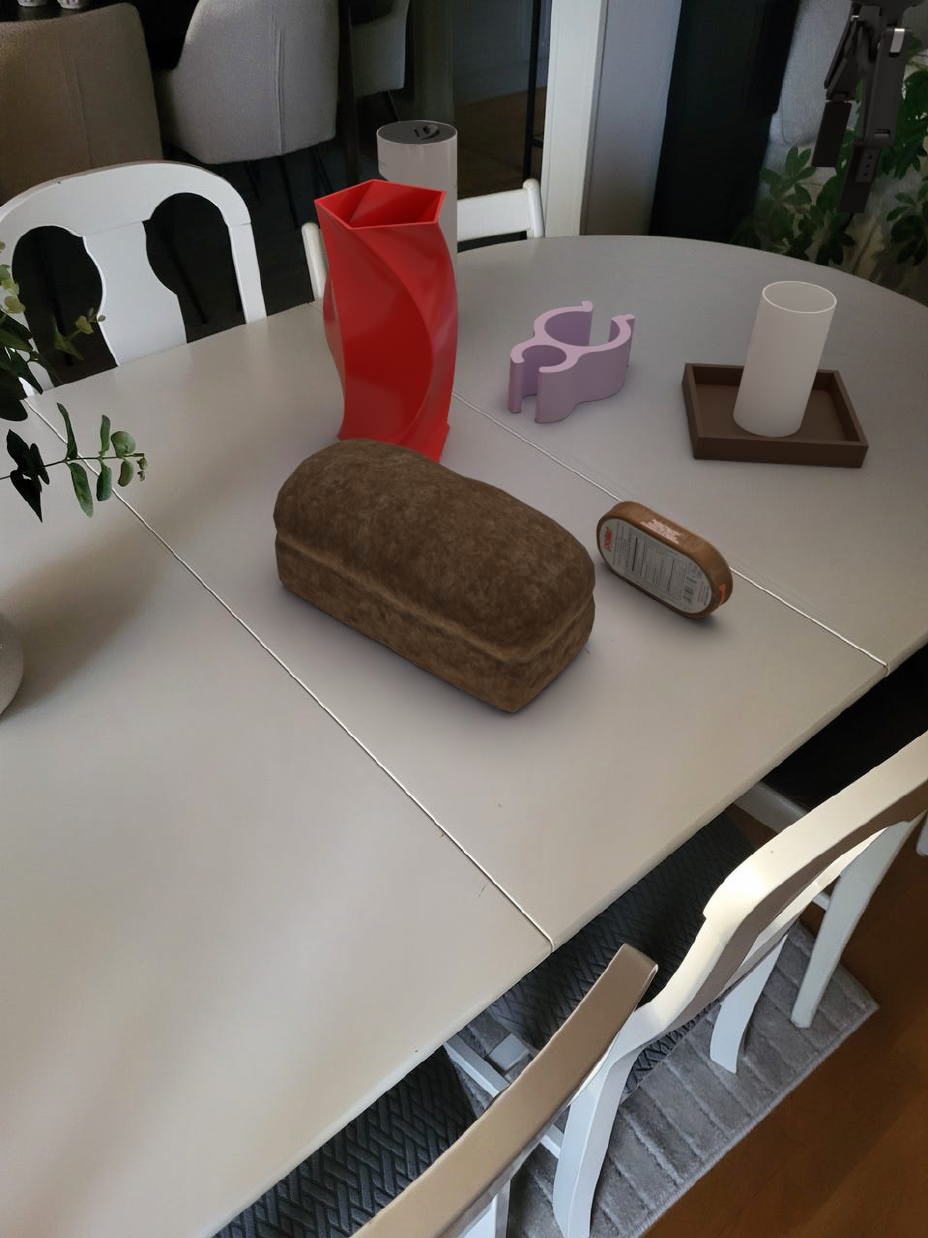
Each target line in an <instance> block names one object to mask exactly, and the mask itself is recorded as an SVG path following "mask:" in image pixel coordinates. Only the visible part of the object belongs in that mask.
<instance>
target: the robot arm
mask: <svg viewBox="0 0 928 1238" xmlns="http://www.w3.org/2000/svg"><path fill="white" fill-rule="evenodd" d="M850 1H851V3H850V9H849V13H848V17H847V20H846V23H845V26H844V28H843V31H842V34H841V37H840V39H839V42H838V44H837V47H836V49H835V53H834V54H833V58H832V60H831V63H830V66H829V69H828V70H827V73H826V76H825V79H824V80H823V89H824V90H826V92H825V100H826V101H825V104H824V107H823V112H822V116H821V121H820V124H819V129H818V132H817V137H816V141H815V144H814V149H813V154H812V156H811V157H812V158H811V161H810V166H811V168H832V169H835V168H837V166H838V162H839V158H840V154H841V150H842V146H843V143H844V139H845V136H846V135H845V134H846V130H847V127H848V123H849V119H850V116H851V111H852V108H853V103H852V102H857V100H858V99H857V98H858V89H857V88H858V86H859V84H860V83H861V80H862V83H861V96H860V107H859V108H860V110H859V112H860V113H859V123H858V136H854V137H853V139H852V140H851V141H850V143H849V145H850V147H851V151H850V155H849V159H848V162H847V166H846V170H845V173H844V174H845V175H844V177H843V181H842V185H841V188H840V192H839V196H838V200H837V203H836V207H835V211H836V213H840V214H865V211H866V207H867V203H868V200H869V197H870V194H871V190H872V186H873V183H874V179H875V177H876V176H875V175H876V173H877V169H878V166H879V162H880V158H881V155H882V151H883V149H884V148H886V147H893V145H894V143H895V140H896V132H897V126H898V125H897V124H898V118H899V111H900V106H901V98H902V92H903V85H904V78H905V73H906V65H907V60H908V54H909V50H910V47H911V43H912V39H913V37H914V28H913V26H903V23H904V22H903V21H904V18H905V17H904V14H905V12H906V11H907V10H908V9H909V8H912V7H913V8H915V7H916V8H917V7H920V6H922V5H924V4H925V3H926V2H927V1H928V0H850ZM846 101H847V102H846ZM848 101H849V102H848Z"/></svg>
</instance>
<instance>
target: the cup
mask: <svg viewBox="0 0 928 1238" xmlns="http://www.w3.org/2000/svg"><path fill="white" fill-rule="evenodd" d="M837 301H838V300H837V298H836V296H835V294H833V293H832V292H831V291H830V290H828V289H826V288H825V287H823V286H820V285H817V284H814V283H809V282H805V281H799V280H798V281H797V280H781V281H776V282H773V283H770V284H768V285H766V286H765V287H764V288H763V289H762V292H761V295H760V300H759V304H758V307H757V311H756V312H757V313H756V317H755V319H754V325H753V330H752V334H751V338H750V341H749V346H748V350H747V355H746V358H745V363H744V366H745V367H744V371H743V375H742V379H741V383H740V388H739V392H738V396H737V400H736V404H735V409H734V413H733V417H734V420H735V422H736V423H737V424H738V425H739V426H740V427H741V428H743V429H745V430H746V431H748V432H751V433H753V434H756V435H760V436H766V437H784V436H788V435H791V434H793V433H795V432H796V431H798V429H799V428H800V425H801V422H802V419H803V415H804V412H805V409H806V405H807V402H808V398H809V395H810V392H811V388H812V385H813V382H814V378H815V375H816V372H817V369H818V368H819V364H820V362H821V358H822V355H823V351H824V347H825V345H826V341H827V339H828V334H829V331H830V328H831V324H832V321H833V317H834V314H835V311H836V307H837V303H838V302H837Z"/></svg>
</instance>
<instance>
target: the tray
mask: <svg viewBox="0 0 928 1238" xmlns="http://www.w3.org/2000/svg"><path fill="white" fill-rule="evenodd" d="M744 367H745V365H738V364H722V363H721V364H718V363H701V362H699V363H698V362H697V363H696V362H685V365H684V369H683V373H682V380H681V389H682V394H683V396H682V397H683V401H684V407H685V408H684V409H685V413H686V419H687V425H688V431H689V437H690V445H691V450H692V457H693V459H694V460H708V461H709V460H710V461H726V462H728V461H729V462H743V463H744V462H746V463H747V462H748V463H762V464H763V463H764V464H782V465H784V464H785V465H800V466H817V467H818V466H819V467H834V468H835V467H837V468H838V467H839V468H855V469H862V467H863V464H864V460H865V458H866V456H867V453H868V450H869V447H870V445H869V443H868V440H867V437H866V435H865V433H864V429H863V427H862V425H861V423H860V420H859V418H858V415H857V413H856V410H855V408H854V406H853V403H852V401H851V398H850V395H849V393H848V390H847V388H846V385H845V383H844V381H843V378H842V376H841V374H840V371H839V370H837V369H820V368H819V369H818V368H817V372H816V375H815V378H814V382H813V385H812V388H811V392H810V395H809V398H808V402H807V405H806V409H805V412H804V415H803V419H802V422H801V425H800V428H799V429H798V431H796V432H795V433H793V434H791V435H788V436H784V437H766V436H760V435H756V434H753V433H751V432H748V431H746V430H745V429H743V428H741V427H740V426H739V425H738V424H737V423H736V422H735V420H734V417H733V413H734V409H735V404H736V400H737V396H738V392H739V388H740V383H741V379H742V375H743V371H744Z"/></svg>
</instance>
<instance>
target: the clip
mask: <svg viewBox="0 0 928 1238" xmlns="http://www.w3.org/2000/svg"><path fill="white" fill-rule="evenodd" d="M593 312H594V306H593V302H592V301H590V300H582V301H581V303H580V305H578V306H564V307H558V308H554V309H551V310H547V311H545V312H544V313H542V314H540V315H539V316H538V317H537V318H536V319H535V320H534V322H533V330H532V337H531V339H528V340H526V341H523V342H520V343H518V344H517V345H515V346H513V348H511V351H510V355H509V356H510V357H509V376H508V377H509V378H508V396H507V397H508V399H507V407H508V409H509V411H510V412H511V413H513V414H516V413H520V412H521V411H522V405H523V403H522V401H523V399H524V398H525V397H528V396H531V395H536V406H535V419H534V420H535V422H536V423H541V424H542V423H544V424H545V423H554V422H558V421H561V420H563V419H565V418H567V417H568V416H570V414H571V413H572V412H573V409H574V408H575V407H576V406H577V405H579V404H581V403H584V402H592V401H594V402H595V401H599V400H603V399H607V398H609V397H611V396H613V395H615V394H617V393H618V392H619V391H620V390H621V389H622V388H623V386H624V383H625V376H626V371H627V368H628V367H629V364H630V357H631V349H632V342H633V335H634V331H635V330H634V328H635V322H636V316H635V315H634V314H631V313H627V314H619V315H615V316H612V317H611V320H610V328H609V336H608V342H607V343H604V344H600V345H590V338H591V329H592V322H593Z"/></svg>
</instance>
